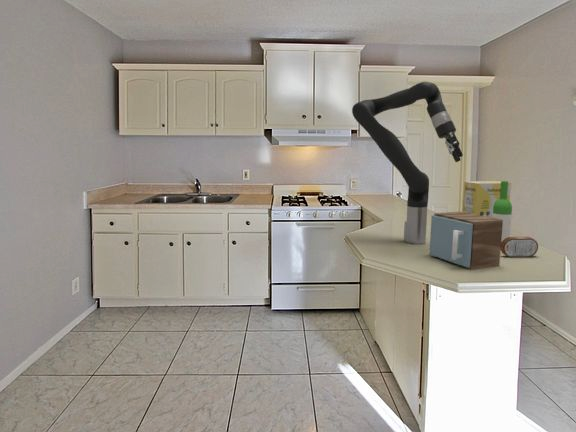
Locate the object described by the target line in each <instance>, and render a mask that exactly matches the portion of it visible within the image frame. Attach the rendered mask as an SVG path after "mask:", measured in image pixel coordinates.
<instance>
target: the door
mask: <svg viewBox="0 0 576 432" xmlns="http://www.w3.org/2000/svg"><path fill="white" fill-rule="evenodd" d="M430 218H431V221H430V236H429V237H430V239H429V255H430V256H432V255H433V256H432V257H434V256H435V258H437V257H438V258H437V259H440V258H441V259H440V260H442V259H444V260H443V261H445V260H447V261H446V262H448V261H450V262H449V263H451V262H453V263H452V264H454V263H456V264H455V265H457V264H459V265H458V266H460V265H462V266H461V267H463V266H465V267H464V268H466V267H470V261H471V247H472V232H473V224H471V223H466V222H462V221H457V220H452V219H448V218H443V217H439V216H434V214H433V215H431V217H430Z"/></svg>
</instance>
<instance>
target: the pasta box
mask: <svg viewBox="0 0 576 432" xmlns="http://www.w3.org/2000/svg"><path fill="white" fill-rule="evenodd" d="M511 188H512V182H508V192H507V199H508V200H509V201H510V202H511V190H512V189H511ZM500 189H501V181H500V180H499V181H498V180H492V181H491V180H487V181H486V180H484V181H483V180H480V181H479V180H478V181H477V180H476V181H474V180H473V181H464V182H463V192H462V193H463V194H462V195H463V196H462V210H461V212H466V213H471V214H476V215H481V216H486V217H491V218H492V217H493V206H494V203H495V202H496V201H497V200H499V198H500Z"/></svg>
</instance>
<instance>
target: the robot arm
mask: <svg viewBox="0 0 576 432" xmlns="http://www.w3.org/2000/svg"><path fill="white" fill-rule="evenodd" d="M420 100H425V101H426V104H427V106H426V111H427V114H428V116H429V118H430V121H431V124H432V126H433V128H434V130H435V132H436V135H437V137H438V138H439V139H445V141H444V144H445V147H446V148H447V149H448V151H449V152H448V153H449V154H450V155H452V157H453V158H452V159H453V160H454V162H455V163H459V162H460V161H461V157H463V156H464V154H463V152H462V150H461V148H460V142H459V140H458V138H457V136H456V134H455V133H456V131H457V128H456V127H455V126H456V125H455V124H454V121H453V120H452V117H451V115H450V113H449V112H448V110H447V108H446V106H445V104H444V103H443V99H442V94H441V90H440V89H439V87H438V85H436V84H435V82H434V83H433V82H429V81H422V82H418V83H416V84H414V85H412V86H410V87H408V88H406V89H403V90H399V91H395V92H394V93H391V94H389V95H386V96H383V97H380V98H379V97H378V98H371V99H364V100H361V101H359V102H356V103H355V104H353V106H352V109H351V113H352V117H353V118H354V119H355V121H356V122H357V123H358V124H359V125H360V126H361V127H362V128H363V129H364V130H365V132H367V134H368V135H369V136H370V138H371V139H372V140H373V142H375V144H376V146H378V148H379V149H380V151H381V152H382V153H383V154H384V156H385V157H386V158H387V160H388V161H389V162H390V163H391V164H392V165H393V166H394V167H395V168H396V170H397V171H398V172H399V173H400V175H401V176H402V178H403V179H404V181H405V183H406V185H407V186H408V191H407V192H408V194H407V202H406V221H404V229H403V242H406V243H409V244H413V245H418V244H419V245H422V244H425V243H426V241H427V224H428V223H427V221H428V206H429V205H428V204H429V193H430V192H429V191H430V190H429V189H430V178H429V176H428V175H427V174H426V173H425V172H422V171H421V170H420V169H419V168H418V167H417V165H416V164H414V162H413V161H412V159H411V157H410V155H409V153H408V151H407V149H406V148H405V146H404V145H403V143H402V142H401V141H400V139H399V138H398V137H397V135H395V134H394V133H393V132H392V131H390V129H388V128H386V127H384V125H382V124H381V123H380V122H379V121H378V120H377V119H376V117H375V116H377V115H379V114H381V113H383V112H386V111H388V110H389V111H390V110H394V109H400V108H404V107H406V106H407V107H408V106H410V105H413V104H414V103H416V102H417V101H420Z"/></svg>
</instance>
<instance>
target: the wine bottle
mask: <svg viewBox="0 0 576 432" xmlns="http://www.w3.org/2000/svg"><path fill="white" fill-rule="evenodd" d="M500 182H501V189H500V198H499V200H497V201H496V202H495V203H494V206H493V217H492V218H497V219H502V220H503V226H502V239H501V243H502V241H503V240H504V239H505V238H507V237H511V228H512V227H511V224H512V214H513V213H512V212H513V206H512V203H511V200H510V201H509V200H508V199H507V192H508V183H509V180H501V181H500Z"/></svg>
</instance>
